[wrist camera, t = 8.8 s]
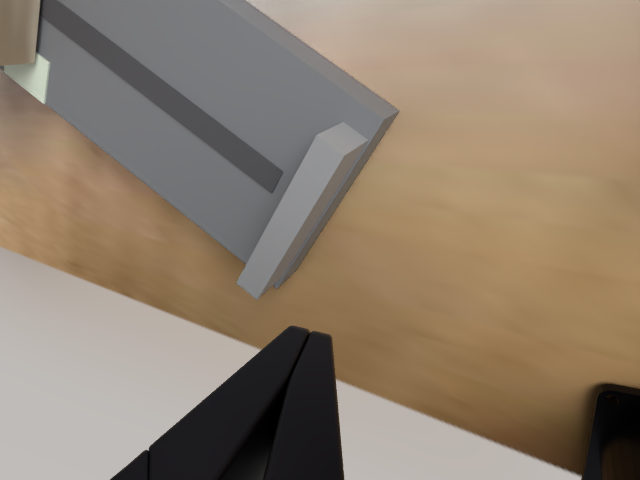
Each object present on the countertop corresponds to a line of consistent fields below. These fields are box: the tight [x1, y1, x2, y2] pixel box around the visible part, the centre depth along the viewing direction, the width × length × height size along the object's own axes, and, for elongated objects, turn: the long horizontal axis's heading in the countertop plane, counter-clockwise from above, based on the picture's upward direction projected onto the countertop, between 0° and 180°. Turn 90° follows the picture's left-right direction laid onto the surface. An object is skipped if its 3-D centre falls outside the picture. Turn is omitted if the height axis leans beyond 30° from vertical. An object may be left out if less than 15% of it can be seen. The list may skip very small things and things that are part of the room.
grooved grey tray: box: [0, 0, 399, 300], centre depth 20 cm, size 22×10×4 cm, turn 61°
